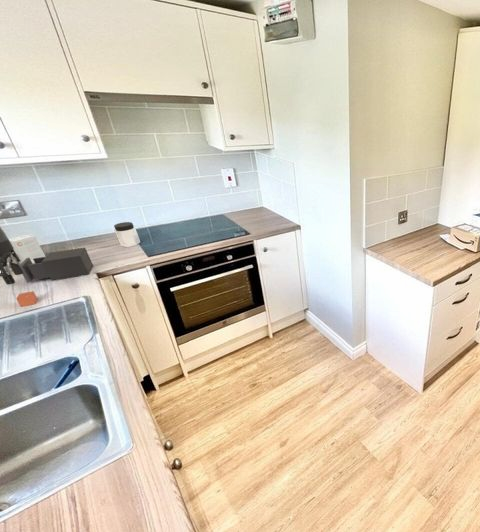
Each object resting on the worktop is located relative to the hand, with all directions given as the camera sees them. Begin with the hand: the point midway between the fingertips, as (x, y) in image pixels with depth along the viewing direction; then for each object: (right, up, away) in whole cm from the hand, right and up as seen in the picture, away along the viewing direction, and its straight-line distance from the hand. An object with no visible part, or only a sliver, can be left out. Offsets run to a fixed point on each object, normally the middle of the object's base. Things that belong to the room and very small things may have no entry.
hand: (15, 278), depth 125 cm
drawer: (-15, 0, +22) cm, 27 cm away
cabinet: (-6, +2, +28) cm, 28 cm away
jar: (-4, +17, +59) cm, 61 cm away
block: (0, -10, +5) cm, 11 cm away
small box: (-35, +7, +37) cm, 51 cm away
